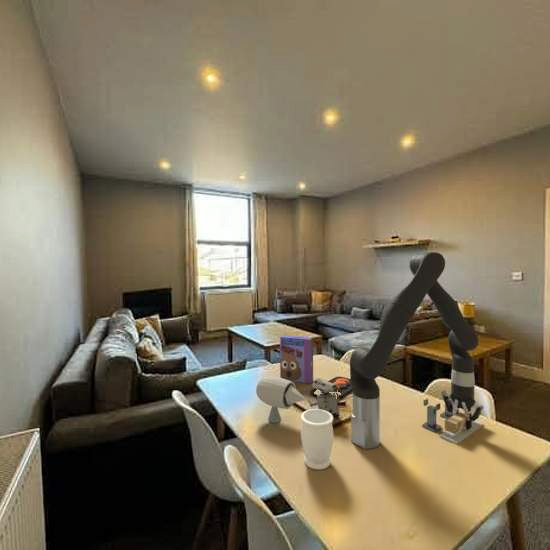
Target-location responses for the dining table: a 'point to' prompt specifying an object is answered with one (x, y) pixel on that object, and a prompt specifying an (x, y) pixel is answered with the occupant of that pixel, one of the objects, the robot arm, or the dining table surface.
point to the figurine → (326, 396)
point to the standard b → (446, 413)
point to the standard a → (431, 417)
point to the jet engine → (277, 395)
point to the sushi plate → (340, 385)
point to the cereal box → (296, 359)
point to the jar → (317, 437)
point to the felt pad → (461, 433)
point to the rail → (457, 422)
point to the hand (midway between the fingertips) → (462, 426)
